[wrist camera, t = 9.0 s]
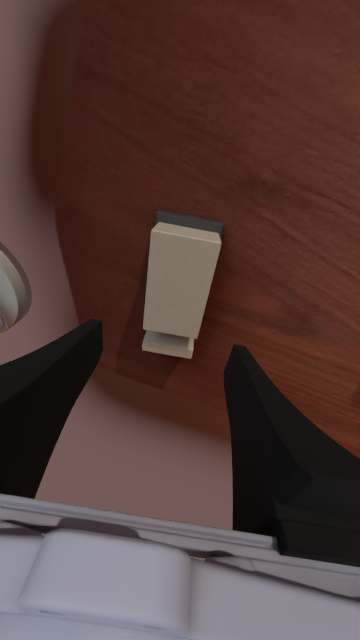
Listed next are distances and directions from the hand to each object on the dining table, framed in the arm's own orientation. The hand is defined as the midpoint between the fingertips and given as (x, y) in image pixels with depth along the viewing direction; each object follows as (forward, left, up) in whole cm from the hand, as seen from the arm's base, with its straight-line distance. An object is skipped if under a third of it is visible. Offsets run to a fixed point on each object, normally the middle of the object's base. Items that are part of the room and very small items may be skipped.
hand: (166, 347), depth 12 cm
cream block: (0, 0, -9) cm, 9 cm away
